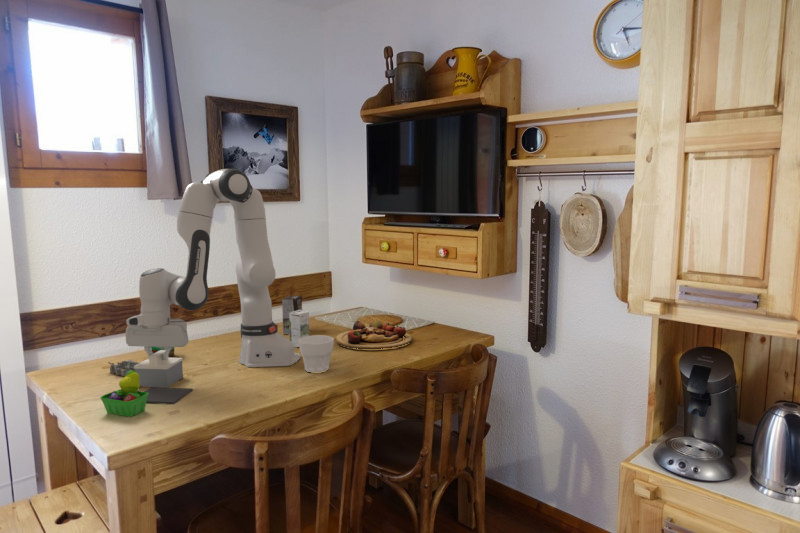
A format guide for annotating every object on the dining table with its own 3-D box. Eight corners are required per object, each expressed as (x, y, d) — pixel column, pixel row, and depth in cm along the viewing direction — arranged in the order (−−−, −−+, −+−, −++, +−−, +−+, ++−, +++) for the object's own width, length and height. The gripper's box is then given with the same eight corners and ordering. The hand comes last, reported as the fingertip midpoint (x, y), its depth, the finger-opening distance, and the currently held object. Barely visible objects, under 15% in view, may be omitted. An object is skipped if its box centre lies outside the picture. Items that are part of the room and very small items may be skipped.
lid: (182, 362, 194) (182, 349, 193) (167, 371, 184) (166, 357, 183) (151, 361, 195) (150, 348, 195) (133, 370, 185) (132, 357, 184)
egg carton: (107, 373, 201) (106, 361, 201) (127, 367, 207) (127, 356, 207) (123, 378, 195) (122, 366, 194) (144, 372, 201) (143, 361, 201)
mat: (192, 390, 181) (192, 388, 181) (173, 404, 170) (173, 402, 170) (151, 388, 183) (151, 387, 183) (129, 402, 171) (129, 400, 171)
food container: (165, 363, 211) (163, 336, 210) (150, 362, 213) (148, 335, 211) (184, 353, 223) (182, 328, 222) (170, 353, 225) (168, 328, 223)
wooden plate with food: (364, 357, 217) (364, 336, 216) (321, 340, 242) (321, 321, 241) (427, 344, 237) (428, 325, 236) (382, 330, 262) (382, 312, 261)
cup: (303, 377, 193) (302, 345, 192) (295, 367, 204) (294, 337, 203) (339, 372, 198) (338, 341, 197) (329, 363, 209) (328, 333, 208)
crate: (183, 377, 194) (182, 360, 194) (167, 387, 185) (166, 369, 184) (152, 376, 196) (151, 359, 195) (135, 386, 186) (134, 368, 185)
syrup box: (299, 344, 236) (297, 309, 235) (310, 345, 233) (309, 310, 232) (289, 347, 231) (288, 312, 230) (301, 349, 228) (299, 313, 227)
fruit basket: (99, 414, 162) (96, 375, 161) (124, 403, 171) (122, 366, 169) (130, 419, 158) (127, 380, 157) (154, 408, 166) (152, 370, 165)
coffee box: (296, 335, 251) (295, 299, 249) (282, 334, 252) (281, 299, 250) (303, 330, 260) (302, 295, 258) (289, 329, 261) (288, 295, 259)
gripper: (190, 316, 189) (192, 357, 191) (132, 315, 192) (135, 355, 193) (181, 320, 183) (183, 362, 185) (121, 319, 185) (124, 361, 187)
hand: (158, 359), depth 189 cm, fingers open, 3 cm apart
